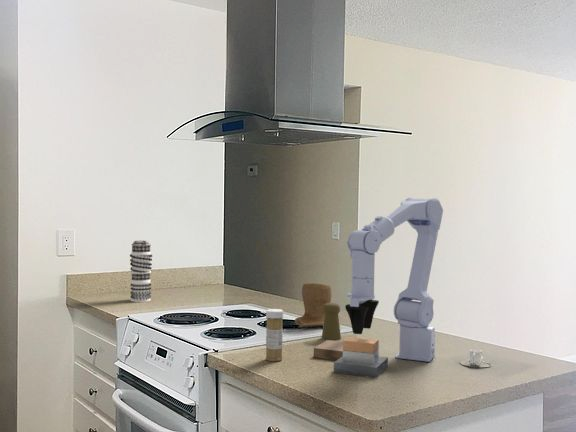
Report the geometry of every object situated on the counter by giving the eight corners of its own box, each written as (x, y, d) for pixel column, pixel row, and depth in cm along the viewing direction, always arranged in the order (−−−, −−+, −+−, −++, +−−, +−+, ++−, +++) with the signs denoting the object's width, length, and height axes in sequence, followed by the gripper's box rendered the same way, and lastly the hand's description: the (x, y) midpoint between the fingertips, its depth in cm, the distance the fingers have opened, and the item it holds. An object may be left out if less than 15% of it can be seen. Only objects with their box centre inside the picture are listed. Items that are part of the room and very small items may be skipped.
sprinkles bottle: (273, 356, 171) (274, 307, 170) (286, 359, 168) (286, 309, 167) (261, 359, 167) (262, 309, 167) (274, 362, 164) (274, 312, 164)
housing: (378, 359, 160) (378, 339, 160) (373, 363, 155) (373, 343, 155) (348, 355, 163) (348, 336, 163) (342, 360, 158) (342, 340, 158)
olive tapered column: (329, 335, 199) (329, 301, 199) (344, 338, 195) (345, 303, 195) (317, 338, 194) (318, 303, 194) (333, 341, 191) (334, 305, 190)
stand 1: (363, 352, 177) (364, 343, 177) (352, 361, 167) (352, 352, 167) (327, 348, 181) (327, 340, 181) (313, 357, 171) (313, 348, 171)
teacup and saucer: (471, 360, 172) (472, 345, 172) (498, 365, 166) (498, 350, 166) (453, 365, 166) (453, 349, 166) (480, 371, 160) (480, 355, 160)
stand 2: (387, 367, 162) (388, 357, 162) (376, 377, 152) (376, 367, 152) (347, 362, 166) (347, 352, 166) (333, 372, 156) (333, 362, 156)
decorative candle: (144, 302, 257) (145, 241, 256) (125, 301, 259) (125, 241, 259) (156, 299, 265) (156, 240, 265) (136, 298, 268) (137, 239, 267)
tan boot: (323, 321, 223) (323, 279, 223) (341, 327, 213) (342, 283, 212) (286, 324, 216) (286, 281, 215) (303, 331, 205) (304, 285, 205)
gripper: (356, 273, 167) (355, 324, 167) (338, 279, 153) (337, 334, 154) (382, 275, 164) (381, 326, 164) (366, 281, 151) (365, 337, 151)
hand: (361, 330), depth 159 cm, fingers open, 7 cm apart
